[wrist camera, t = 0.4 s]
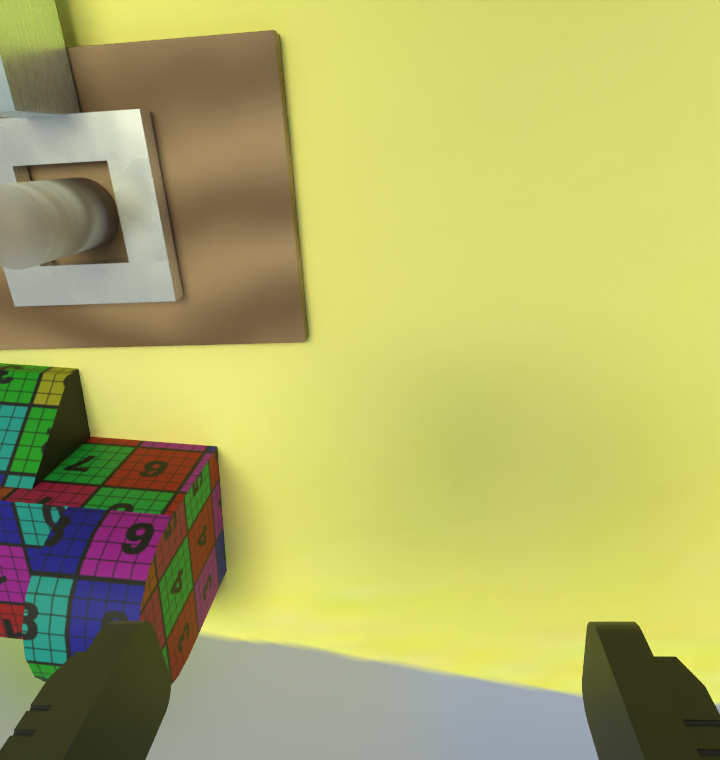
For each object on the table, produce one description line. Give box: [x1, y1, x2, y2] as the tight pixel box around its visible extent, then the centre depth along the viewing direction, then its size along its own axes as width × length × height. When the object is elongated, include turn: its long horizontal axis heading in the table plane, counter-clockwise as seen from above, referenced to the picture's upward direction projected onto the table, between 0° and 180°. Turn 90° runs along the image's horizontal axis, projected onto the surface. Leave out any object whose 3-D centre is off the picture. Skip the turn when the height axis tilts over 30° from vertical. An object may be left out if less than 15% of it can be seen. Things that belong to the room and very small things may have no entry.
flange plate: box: [0, 0, 183, 307], centre depth 29 cm, size 18×10×6 cm, turn 3°
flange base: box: [0, 30, 308, 350], centre depth 30 cm, size 17×25×8 cm
